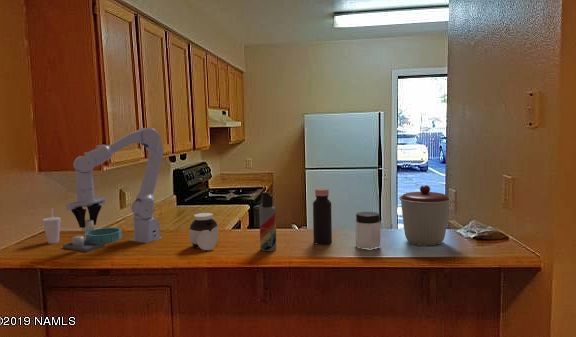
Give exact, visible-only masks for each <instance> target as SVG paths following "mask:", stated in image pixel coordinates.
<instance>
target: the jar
mask: <svg viewBox="0 0 576 337" xmlns="http://www.w3.org/2000/svg"><path fill="white" fill-rule="evenodd" d="M355 217H356V218H355V246H356V245H357V246H358V247H360V248H369V249H371V248H375V247H379V246H380V247H381V222H380V219H381V218H380V213H378V212H376V211H375V212H374V211H359V212H357V213H355ZM357 246H356V247H357Z"/></svg>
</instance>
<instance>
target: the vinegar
mask: <svg viewBox="0 0 576 337" xmlns="http://www.w3.org/2000/svg"><path fill="white" fill-rule="evenodd" d="M329 191H330V189H328V188H316V189H315V190H314V192H315V193H314V194H315V197H316V199H314V201H313V203H312V216H313V217H312V221H313V222H312V224H313V227H312V228H313V243H314V244H315V243H317V244H316V245H319V244H327V245H330V244H332V241H333V240H332V239H333V236H332V235H333V234H332V232H333V230H332V227H333V226H332V201H331V200H330V199H328V198H329V194H330V192H329ZM329 243H330V244H329Z"/></svg>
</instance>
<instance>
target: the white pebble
mask: <svg viewBox="0 0 576 337" xmlns="http://www.w3.org/2000/svg"><path fill="white" fill-rule="evenodd" d="M84 241H85V235H75V236H72V237H71V243H72V246H75V247H83V246H84Z"/></svg>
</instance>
